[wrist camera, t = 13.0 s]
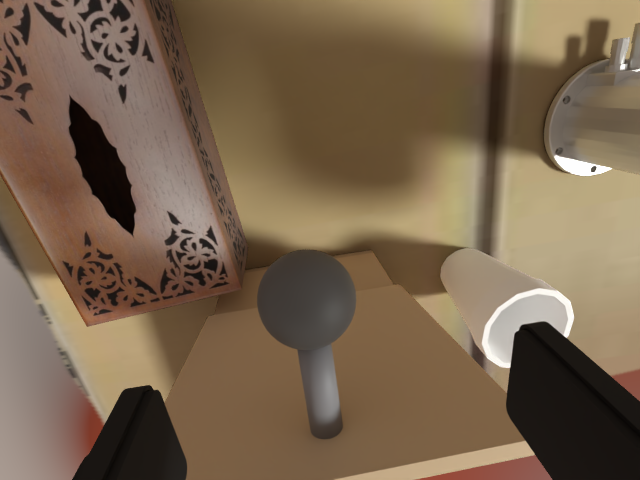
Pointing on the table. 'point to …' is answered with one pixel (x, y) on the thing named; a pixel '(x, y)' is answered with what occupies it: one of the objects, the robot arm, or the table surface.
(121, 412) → the robot arm
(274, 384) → the carton lid
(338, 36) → the table surface
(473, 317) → the foam cup
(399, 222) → the table surface
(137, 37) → the tissue box cover
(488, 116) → the table surface
